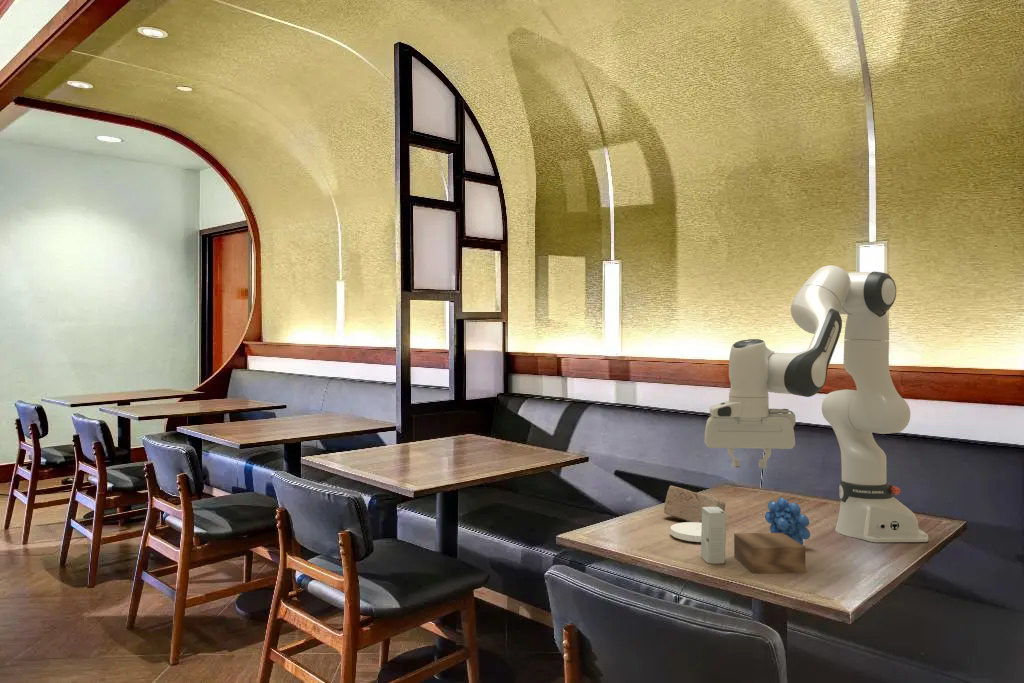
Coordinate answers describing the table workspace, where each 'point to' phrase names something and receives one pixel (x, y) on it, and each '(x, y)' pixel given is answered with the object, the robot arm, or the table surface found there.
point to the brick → (689, 504)
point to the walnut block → (769, 553)
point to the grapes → (787, 520)
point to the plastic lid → (687, 531)
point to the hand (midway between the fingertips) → (749, 467)
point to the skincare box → (713, 535)
